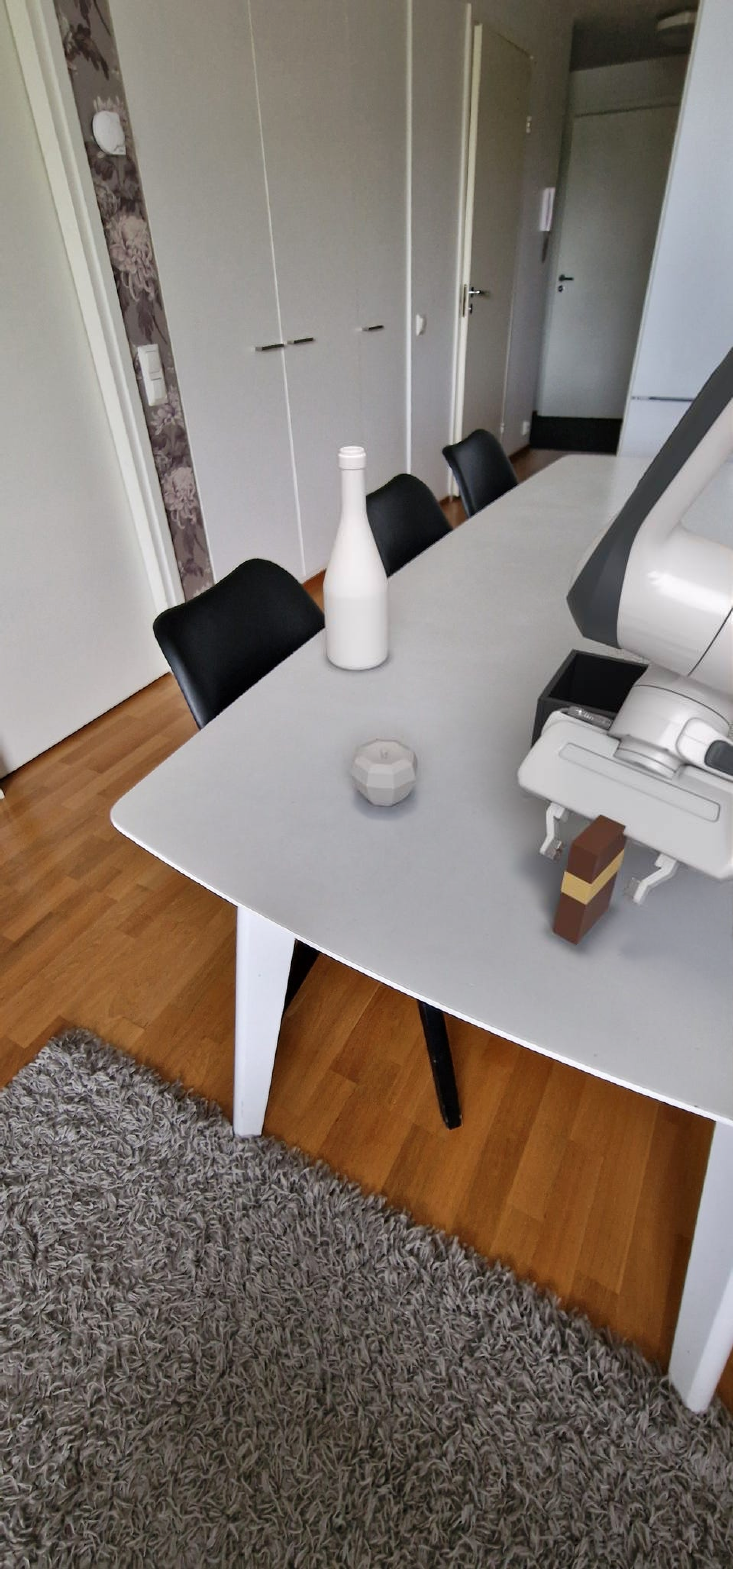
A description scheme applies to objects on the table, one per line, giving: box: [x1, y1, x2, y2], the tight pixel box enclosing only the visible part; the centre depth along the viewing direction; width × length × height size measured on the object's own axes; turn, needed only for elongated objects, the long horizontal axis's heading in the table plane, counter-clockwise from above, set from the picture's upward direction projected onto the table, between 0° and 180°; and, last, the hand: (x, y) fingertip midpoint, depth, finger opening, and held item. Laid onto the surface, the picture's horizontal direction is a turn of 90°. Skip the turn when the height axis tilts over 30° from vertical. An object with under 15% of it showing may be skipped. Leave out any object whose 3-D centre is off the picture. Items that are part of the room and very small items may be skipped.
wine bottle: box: [322, 445, 389, 671], centre depth 100 cm, size 10×10×30 cm
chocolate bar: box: [552, 815, 627, 946], centre depth 62 cm, size 2×6×11 cm, turn 137°
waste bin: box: [529, 648, 649, 751], centre depth 82 cm, size 14×14×11 cm
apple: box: [349, 738, 419, 807], centre depth 79 cm, size 8×8×7 cm
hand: (588, 878), depth 62 cm, fingers open, 7 cm apart
